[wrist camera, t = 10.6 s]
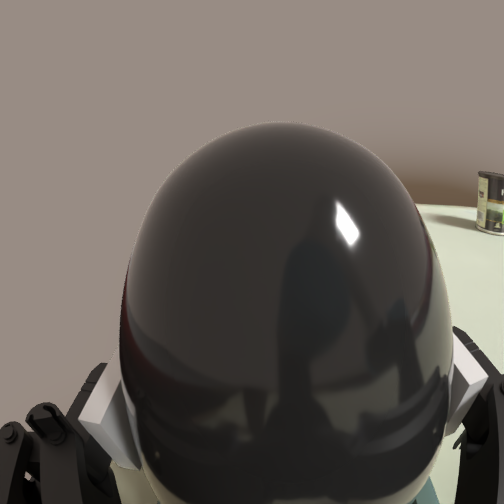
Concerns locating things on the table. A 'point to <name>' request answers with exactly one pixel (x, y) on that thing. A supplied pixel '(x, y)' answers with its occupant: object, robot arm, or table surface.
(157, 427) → the dark grey glossy oval
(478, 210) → the coffee can
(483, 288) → the table surface
